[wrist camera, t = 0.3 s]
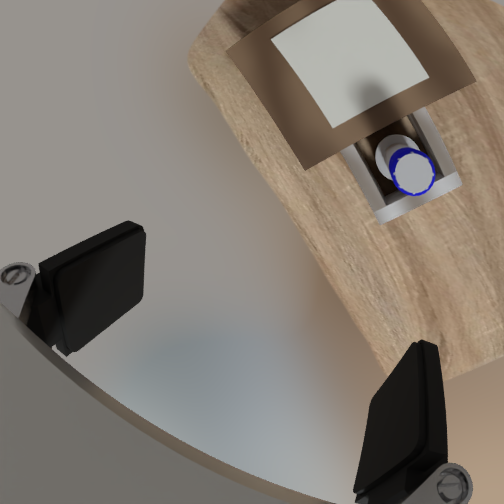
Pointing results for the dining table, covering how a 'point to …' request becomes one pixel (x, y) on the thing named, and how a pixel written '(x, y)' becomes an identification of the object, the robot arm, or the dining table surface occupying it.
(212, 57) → the dining table surface
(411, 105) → the wooden box
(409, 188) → the bolt
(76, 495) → the robot arm
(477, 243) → the dining table surface
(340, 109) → the lid mat
